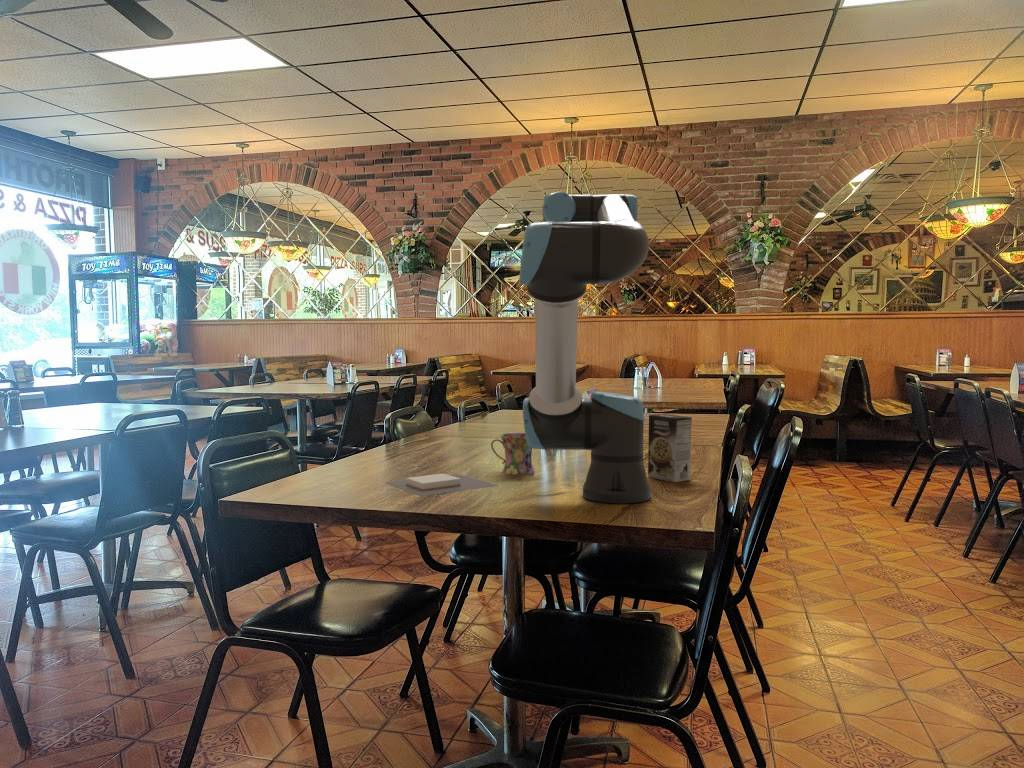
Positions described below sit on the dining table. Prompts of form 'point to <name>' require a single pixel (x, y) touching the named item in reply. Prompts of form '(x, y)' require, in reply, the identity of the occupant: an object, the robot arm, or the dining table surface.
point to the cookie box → (669, 447)
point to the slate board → (466, 484)
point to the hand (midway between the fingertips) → (557, 350)
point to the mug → (516, 454)
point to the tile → (433, 481)
